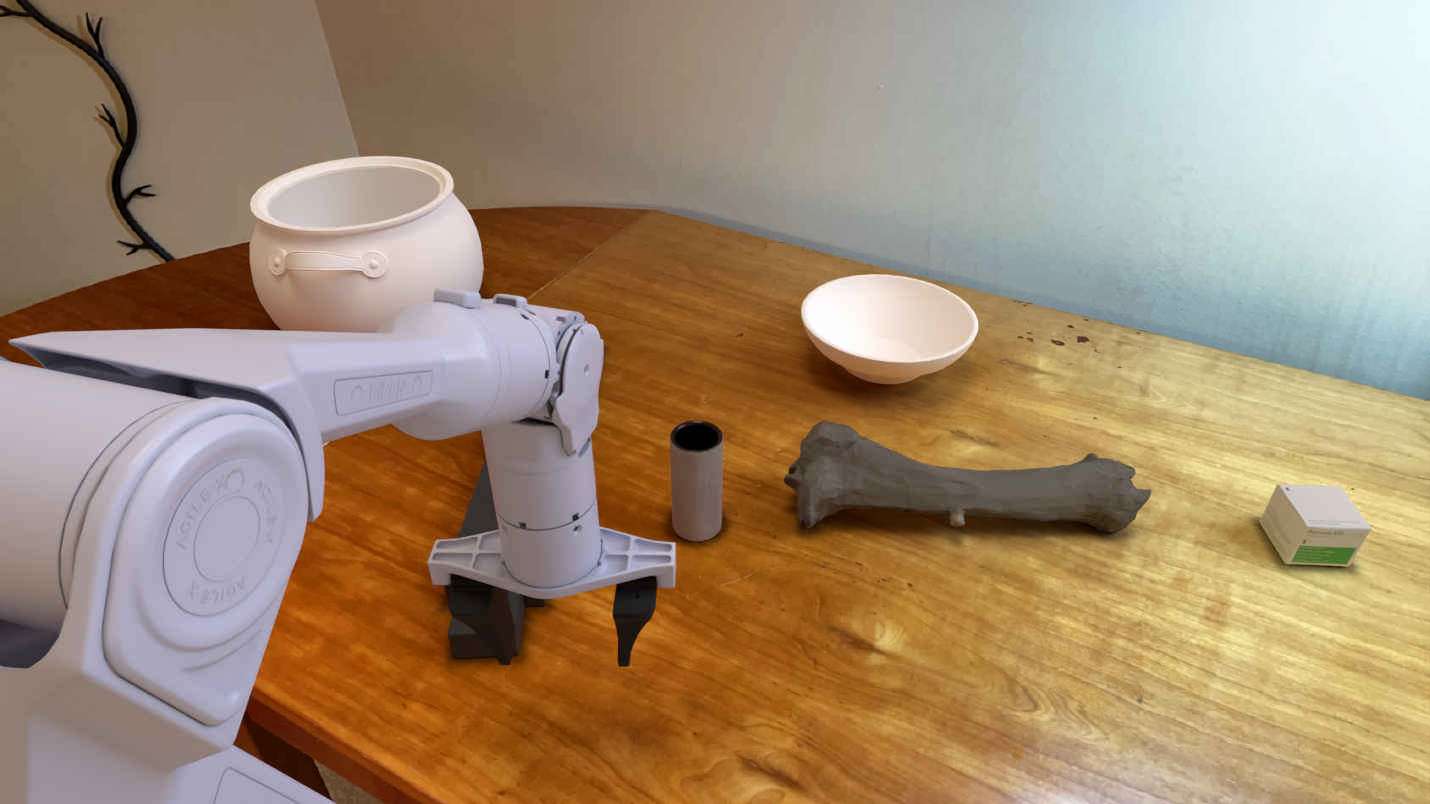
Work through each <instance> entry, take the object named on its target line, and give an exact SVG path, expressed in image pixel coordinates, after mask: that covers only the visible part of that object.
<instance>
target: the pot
mask: <svg viewBox="0 0 1430 804" xmlns="http://www.w3.org/2000/svg"><path fill="white" fill-rule="evenodd" d="M454 188H455V185H454V177H452V174H451V173H450V171H448V170H447V169H445V168H444V167H443V166H440V165H439V164H436V163H433V162H432V161H428V160H424V159H419V158H413V157H407V156H394V155H393V156H392V155H374V156H370V155H368V156H355V157H347V158H340V159H331V160H327V161H324V162H318V163H314V164H311V165H306V166H303V167H300V168H297V169H294V170H290V171H288V172H286V173H284V174H281V175H279V176H277V177H275V178H273V179H271V180H269V181H268V182H266V183H265V184H264V185H262V186H261V187H259V188H258V189H257V190H256V192H254V194H253V195H252V197H251V198H250V202H249V206H250V211H251V214H252V215H253V216H254V218H255V219H256V224H255V226H254V230H253V233H252V235H251V240H250V242H249V266H250V272H251V278H252V283H253V287H254V289H255V292H256V295H257V298H258V300H259V302H260V304H261V306H262V307H263V309H264V310H265V312H266V313H267V314H268V316H269V317H270V318H271V320H272V321H273V323H274V324H275V325H276V326H277V327H278V328H279V329H280V331H314V332H350V333H376V332H377V331H378V329H379V327H380V326H381V325H382V324H383V322H384V321H385V320H386V319H387V318H388V317H389V316H391V315H392V314H393V313H394V312H396V311H397V310H399V309H401V308H403V307H405V306H408V305H410V304H414V303H420V302H433V301H434V291H435V289H436V288H438V287H441V288H454V289H460V290H467V291H473V292H478V293H479V292H480V290H481V287H482V283H483V278H484V269H485V268H484V267H485V266H484V265H485V264H484V257H483V251H482V250H483V249H482V242H481V238H480V234H479V231H478V229H477V226H476V224H475V222H474V219H473V217H472V215H471V213H470V212H469V211H468V209H467V207H466V206H465V205H464V204H463V203H462V202H461V200H460V199H459V198H458V197H457V196H456V194H455V193H454Z"/></svg>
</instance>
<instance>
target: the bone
mask: <svg viewBox="0 0 1430 804" xmlns="http://www.w3.org/2000/svg"><path fill="white" fill-rule="evenodd" d="M799 448H800V449H799V450H800V454H799V456H798V458H796V459H795V460H794V462H793V463H791V465H790V466H789V467H788V469H787V470H788V472H787V474H785V476H784V477H783V482H784V484H785V486H788V487H789V488H790V489H792V490H794V491H795V492H796V494H797V502H796V503H797V504H796V511H797V520H798V523H799V524H800V525H801V526H802V528H803V529H804V530H810V529H811V528H812V527H813V526H815V525H816V523H818V522H821V521H822V520H823V519H824V518H826V517H829V516H832V515H834V514H836V513H838V512H840V511H842V510H847V509H848V510H849V509H864V510H868V509H869V510H870V509H871V510H881V511H894V512H895V511H896V512H904V513H905V512H906V513H914V514H915V513H917V514H924V515H932V516H933V515H934V516H939V517H949V524H950V526H952V527H962V526H965V525H966V522H965V518H971V519H974V518H979V519H980V518H981V519H982V518H983V519H1004V520H1017V521H1022V522H1030V523H1035V522H1037V523H1046V522H1047V523H1048V522H1078V523H1081V524H1082V523H1083V524H1087V525H1089V526H1091V527H1094V528H1096V530H1099V531H1100V532H1104V533H1109V534H1115V533H1118V532H1120V531H1122V530H1124V529H1126V528H1127V527H1128V526H1129V525H1130V524H1132V522H1134V521H1135V520H1136V518H1137V515H1138V512H1139V511H1140V510H1141V509H1142V508H1143V507H1144V505H1146V504H1147V502H1148V501H1149V499H1150V497H1151V494H1152V489H1141V488H1137V487H1136V486H1135V485H1134V483H1133V481H1132V479H1133V478H1134V477H1135V475H1136V474H1137V473H1136V469H1135V468H1134V467H1133V466H1131V465H1128V464H1126V463H1124V462H1122V461H1120V460H1115V459H1112V458H1109V457H1099V456H1098V454H1096V453H1093V452H1089V453H1087V455H1085V456H1084V458H1083V459H1081V460H1078V461H1077V462H1074V463H1072V464H1059V465H1054V466H1050V467H1034V468H1033V467H1032V468H1022V469H1021V468H1020V469H990V470H989V469H988V470H987V469H971V468H962V467H961V468H960V467H950V466H941V465H939V466H938V465H933V464H927V463H924V462H920V461H918V460H915V459H912V458H911V457H908V456H907V455H904V454H902V453H900V452H898V451H895V450H893V449H891V448H888V447H886V446H884V445H882V444H880V443H878V442H876V441H874V440H872V439H870V438H868V436H867V437H866V436H860V434H859V432H858V431H857V430H855V429H854V428H853V427H851V426H850V425H847V424H843V423H836V422H831V421H828V420H827V421H826V420H821V421H819V422H818V423H816V424H814V425H813V426H812V427H811V429H810V430H809V431H808V432H807V435H806V436H805V437H804V438H802V439H801V440H800V447H799Z"/></svg>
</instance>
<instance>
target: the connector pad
mask: <svg viewBox="0 0 1430 804" xmlns="http://www.w3.org/2000/svg"><path fill="white" fill-rule="evenodd" d="M508 598H509V603H510V608H511V612H512V616H513V621H514V625H515V634H516V643H515V647H514V651H513V655H512V657H514V656H519V654H520V653H519V652H520V645H521V638H522V631H523V623H524V617H525V609H526V608H525V607H526V606H525V604H524V598H523V595H522V594H519V593H516V592H512V591H509V590H508ZM447 637H448V640H449V645H450V650H451V653H452V658H453V659H471V658H472V659H475V658H491V657H492V658H496V657H495V655H494V654H493V652H492V651H491V649H490V648H489V647H488V645H487V644H486V643H485V642H484V640H483V639H482V638H481V637H480V636H479V635H478V634H477V633H476V632H475V631H474V630H472V629H471V628H470V627H468V626H467V625H466V624H464V623H462V622H461V621H459V620H456V619H454V618H453V617H452V616H451V619H450V623H449V628H448V632H447Z"/></svg>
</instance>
